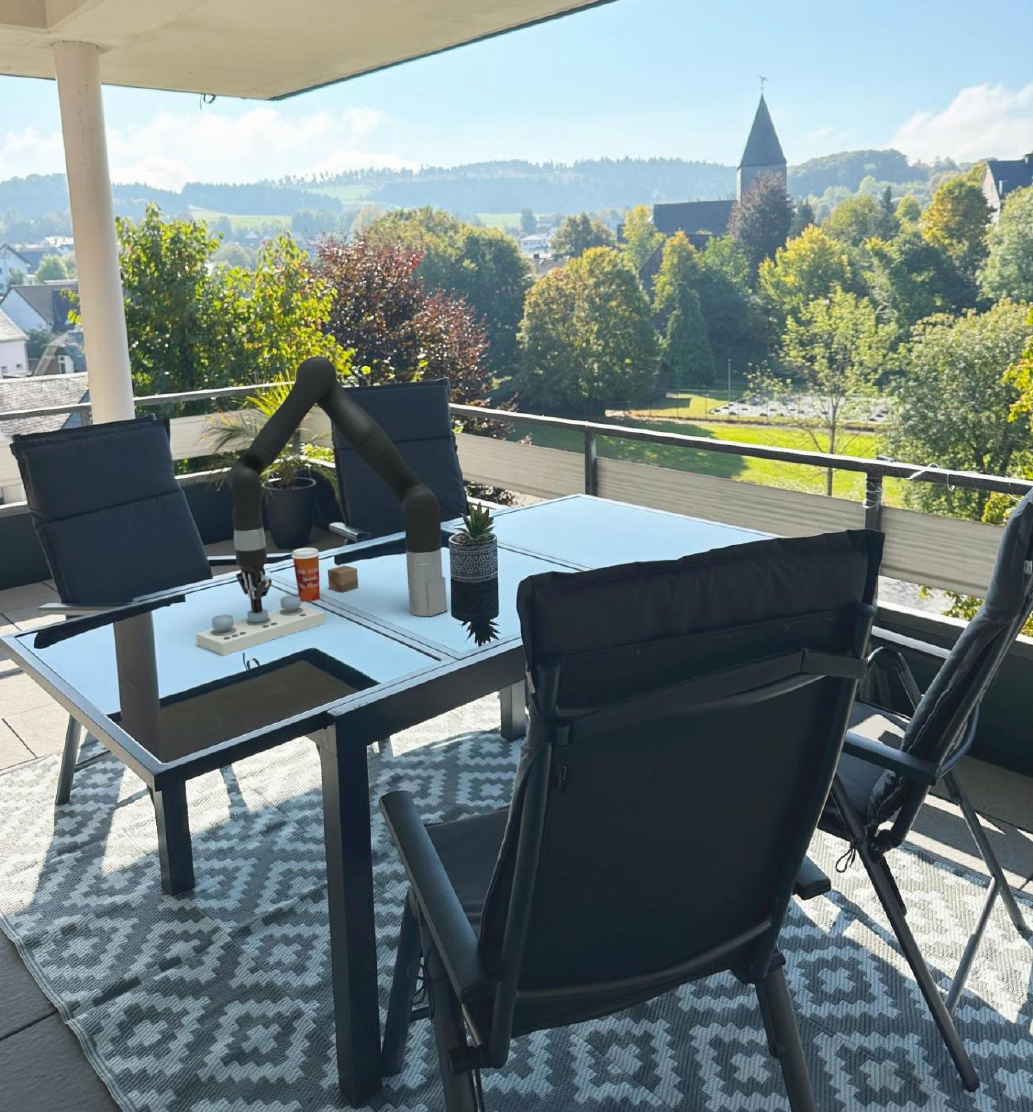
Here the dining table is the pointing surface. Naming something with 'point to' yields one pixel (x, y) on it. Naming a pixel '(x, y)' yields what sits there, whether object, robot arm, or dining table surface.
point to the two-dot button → (258, 616)
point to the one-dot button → (290, 602)
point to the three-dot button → (222, 622)
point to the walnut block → (343, 579)
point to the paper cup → (307, 573)
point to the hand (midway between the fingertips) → (257, 611)
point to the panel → (259, 630)
